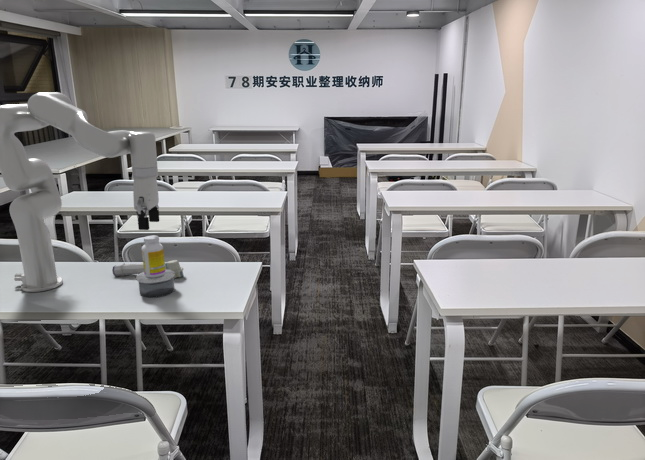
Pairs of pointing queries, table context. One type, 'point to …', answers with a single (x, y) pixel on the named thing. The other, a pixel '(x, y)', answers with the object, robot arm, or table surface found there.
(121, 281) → the table surface
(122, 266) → the light grey long piece
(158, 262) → the supplement bottle
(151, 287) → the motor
